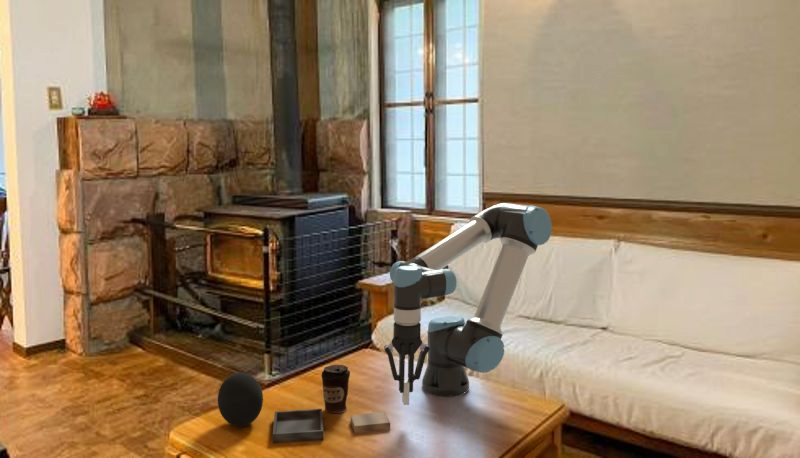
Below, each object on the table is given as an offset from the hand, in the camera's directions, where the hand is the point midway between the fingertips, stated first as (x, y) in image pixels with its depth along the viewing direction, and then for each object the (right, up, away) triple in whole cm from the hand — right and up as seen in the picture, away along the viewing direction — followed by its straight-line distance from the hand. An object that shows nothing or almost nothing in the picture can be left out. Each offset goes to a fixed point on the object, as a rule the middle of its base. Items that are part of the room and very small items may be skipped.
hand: (405, 402), depth 184 cm
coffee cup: (-21, -5, +10) cm, 24 cm away
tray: (-30, -7, -3) cm, 31 cm away
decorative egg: (-47, -6, 0) cm, 47 cm away
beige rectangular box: (-10, -7, 0) cm, 12 cm away
